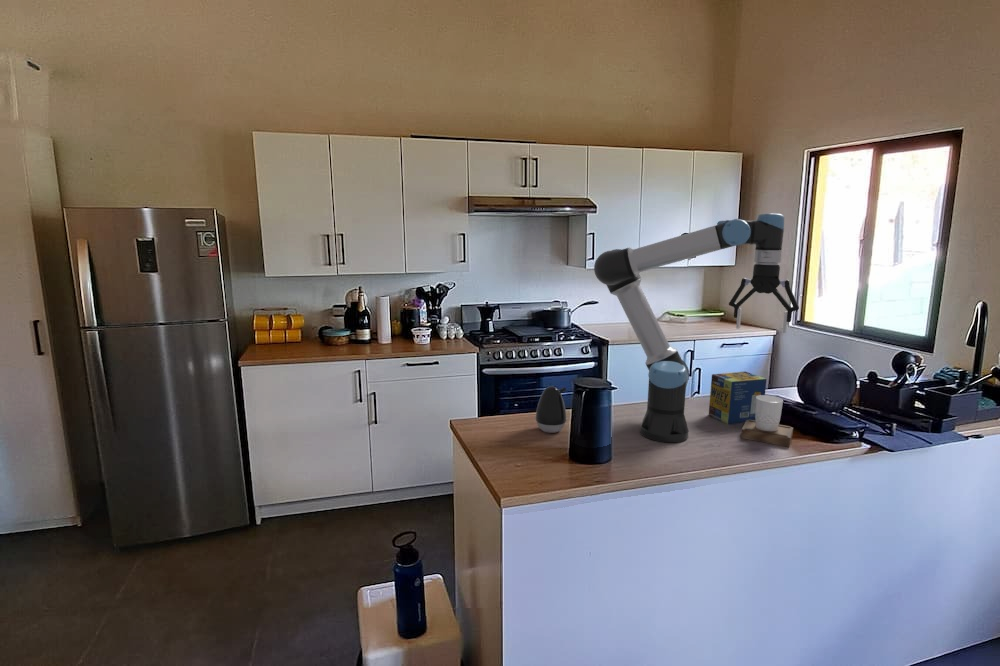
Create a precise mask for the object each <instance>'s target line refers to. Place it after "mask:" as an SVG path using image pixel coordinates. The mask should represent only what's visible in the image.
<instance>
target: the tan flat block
mask: <svg viewBox="0 0 1000 666" xmlns="http://www.w3.org/2000/svg"><path fill="white" fill-rule="evenodd" d="M740 432H741V434H740V438H741V439H744V440H745V439H746V440H750V441H751V440H752V441H755V442H761V443H766V444H767V443H768V444H771V445H777V446H782V447H787V448H790V445H791V442H792V440H793V433H794V427H792V426H790V425H784V424H779V427H778V430H777V431H773V432H770V431H763V430H760V429H758V428H756V427H755V420H746V422H744V425H743V426H742V428H741V431H740Z"/></svg>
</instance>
